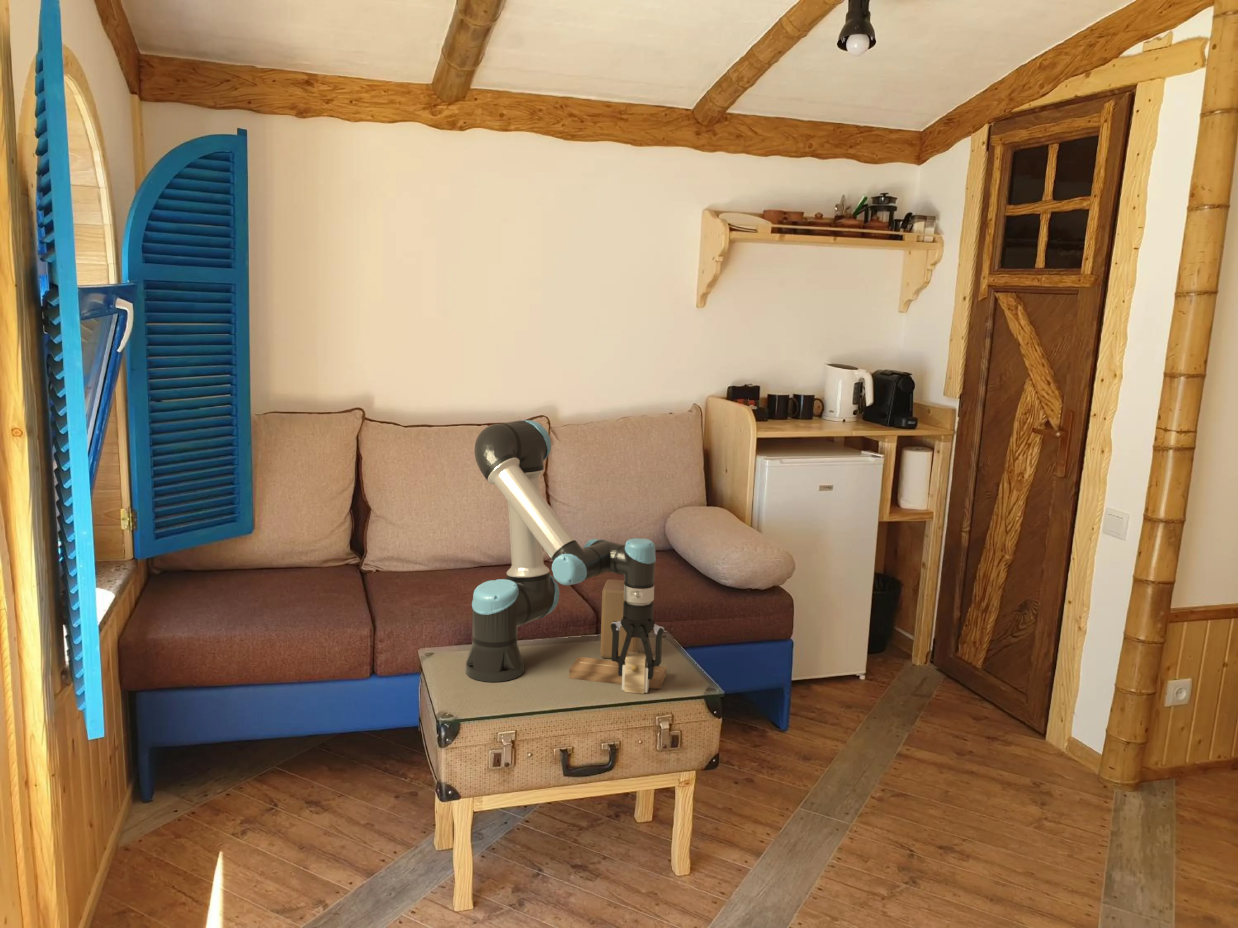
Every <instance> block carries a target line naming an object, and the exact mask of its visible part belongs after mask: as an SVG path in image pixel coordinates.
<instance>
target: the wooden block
mask: <svg viewBox="0 0 1238 928" xmlns="http://www.w3.org/2000/svg"><path fill="white" fill-rule="evenodd" d="M601 594H602V596H601V621H600V622H601V624H600V625H601V630H600V651H599V652H600V658H604V659H611V657H612V636H613V633H612V629H611V624H612V623H613V621H616V622H618V621H621V620H622V618H623V603H624V601H625V600H624V579H606V581H605V584H604V585H603V588H602V593H601ZM626 635H627V633H626V631H625V630H624V628H623V627H622V626H621V628H620V630H619V647H618V656H620V655H621V652H622V648H623V645H624V642H625V638H626ZM639 647H640V638H638V637H634V638H633V637H632V638H631V642H630V645H629V648H628V651H627V654H628V652H638V651H639ZM638 653H639V652H638ZM627 654H626V656H627Z"/></svg>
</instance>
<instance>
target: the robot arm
mask: <svg viewBox="0 0 1238 928" xmlns="http://www.w3.org/2000/svg"><path fill="white" fill-rule="evenodd" d="M475 439H476V440H475V442H474V457H475V462H476V465H477V467H478V468H479V470H480V473H481V474H482V475H483V477H484V478H485V480H486V481H487V482H488V484H489V485H490V484H491V485H495V486H496V487H497V489H498V490H499V491H500V493H501V494H502V495H503V497H504V498H505V499H506V500H507V513H508V525H509V527H508V528H509V540H510V541H509V542H510V543H509V544H510V557H511V560H510V561H511V566H510V568H509V569H507V571H506V578H502V579H495V580H494V579H492V580H491V579H490V580H487V581H484V582H482V583H481V584H479V585H477V587H476V588H475V589H474V590H473V595H472V601H471V607H472V610H471V611H472V614H471V615H472V621H471V622H472V625H471V626H472V644H471V646H470V649H469V652H468V654H467V657H466V661H465V669H464V670H465V674H466V676H468V677H469V678H471V679H474V680H476V681H481V682H487V683H488V682H489V683H491V682H493V683H496V682H507V681H511V680H513V679H516V678H519V677H520V676H521V675H522V674H523V673H524V667H525V666H524V665H525V663H524V660H523V657H522V654H521V650H520V647H519V645H518V644H519V643H518V627H520V626H523V625H525V624H529V623H530V622H533V621H536V620H541V619H542V618H544V617H546V616H547V615H549V614H551V613H552V612H553V611H554V610H555V608H557V606H558V603H559V601H560V600H559V599H560V588H559V587H560V586H559V584H561V585H562V586H572V585H576V584H580V583H582V582H584V581H586V580H588V579H591V578H595V577H597V576H601V575H603V574H607V573H612V574H616V575H620V576H623V577H624V578H623V580H624V600H625V601H624V603H623V618H622V620H621V621H618V622H616V621H613V623H612V624H611V629H612V633H613V636H612V657H611V658H610V660H611V661H615V662H617V663H618V665H619V666H618V675H619V676H622V684H621V691H624V685H625V658H626V654H627V651H628V648H629V645H630V642H631V638H632V637H633V638H634V637H638V638H639V639H641V642H642V646H643V650H644V653H645V655H646V660H647V665H646V667H645V680H644V694H648V692H649V689H650V688H649V679H652V678H653V675H654V667H655V666H661V664H662V654H663V653H662V650H663V634H664V631H665V630H666V629H665V626H664V625H661V626H660V625H658V624H656V623H655V620H654V605H655V603H654V602H653V601H654V600H655V575H656V574H655V572H656V561H657V557H656V556H657V555H656V544H655V542H654V541H652V540H651V539H648V538H641V537H640V538H638V537H636V538H635V537H633V538H630V539H627V540H626V541H625V544H622V543H617V542H613V541H609V540H606V539H603V538H602V539H598V538H592V539H589V540H588V541H587V543H585V545H584V546H583V547H581V545H580V544H579V542H578V541H577V539H575V537H574V536H573V535H572V534H571V532H570V531H569V530H568V528H567V527H566V526H565V524H564V523H563V522H562V521H561V519H560V518H559V517H558V515H557V513H555V511H554V510H553V509H552V508H551V506H550V504H548V502H547V501H546V499H545V498H544V496H542V494H541V492H540V479H539V478H540V475H541V474H542V473H543V472H544V471H545V467H544V461H546V459H547V458H548V457H549V455H550V454H551V450H552V441H551V438H550V435H549V432H548V430H547V429H546V428H545V427H544V426H543V425H542V424H541V423H540V422H538V421H536V420H529V419H527V420H526V419H525V420H524V419H521V420H515V421H509V422H503V423H494V424H490V425H489V426H487V427H485V428H484V429H482V430H481V431H480V433H479V434H478V436H477V438H475ZM543 550H544V551H545V552H546V554H548V556H549V557H550V559H551V560H552V561H553V562H552V564H551V571H552V574H553V575H552V574H550V568H549V567H548V566H547V565H545V564H544V551H543ZM558 583H559V584H558ZM621 626H622V627H623V628H624V630H625V631H626V633H627V635H626V638H625V642H624V645H623V648H622V652H621V655H620V656H618V647H619V630H620V628H621ZM652 630H654V634H655V653H654V654H655V655H653V650H652V647H651V641H650V635H649V634H650V632H651V631H652Z"/></svg>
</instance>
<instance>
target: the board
mask: <svg viewBox="0 0 1238 928" xmlns="http://www.w3.org/2000/svg"><path fill="white" fill-rule="evenodd" d="M618 666H619V665H618V663H617V662H615V661H612V660H611V659H610V660H609V659H601V658H592V657H585V656H584V657H583V656H577V657H576V659H575V661H574V662H572V665H571V666H570V668H569V669H568V670H569V671H568V672H569V675H568V678H569V679H571V680H572V679H573V680H582V681H589V682H590V681H591V682H600V683H608V684H613V685H614V684H616V685H622V676H619V675H618ZM666 677H667V666H664V665H663V666H662V665H659V666H655V667H654V675H653V678H652V679H649V689H659V690H661V689H662V685H663V683H664V681H665V678H666Z"/></svg>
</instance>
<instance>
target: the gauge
mask: <svg viewBox="0 0 1238 928" xmlns="http://www.w3.org/2000/svg"><path fill="white" fill-rule="evenodd" d="M624 662H625V685H624V690H623V692H624V693H634V694H642V695H644V694H645V692H644V680H645V667H646V665H647V660H646V655H645V652H628V654H627V656H626V658H625V660H624Z"/></svg>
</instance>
